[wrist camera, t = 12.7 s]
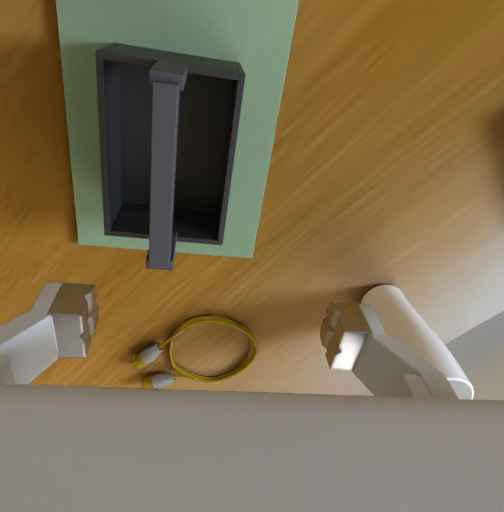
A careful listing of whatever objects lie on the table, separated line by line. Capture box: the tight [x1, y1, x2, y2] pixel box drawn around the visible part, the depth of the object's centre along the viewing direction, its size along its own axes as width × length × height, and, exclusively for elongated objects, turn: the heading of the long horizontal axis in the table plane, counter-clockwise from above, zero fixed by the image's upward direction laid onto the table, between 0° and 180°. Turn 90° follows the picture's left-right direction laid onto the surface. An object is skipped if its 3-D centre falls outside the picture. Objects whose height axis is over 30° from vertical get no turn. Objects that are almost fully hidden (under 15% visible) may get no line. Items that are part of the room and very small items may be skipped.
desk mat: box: [55, 0, 299, 258], centre depth 36 cm, size 24×18×1 cm
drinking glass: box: [361, 285, 474, 399], centre depth 43 cm, size 7×7×15 cm
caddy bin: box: [95, 43, 246, 270], centre depth 31 cm, size 14×10×11 cm
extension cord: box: [132, 315, 258, 389], centre depth 50 cm, size 12×16×2 cm
